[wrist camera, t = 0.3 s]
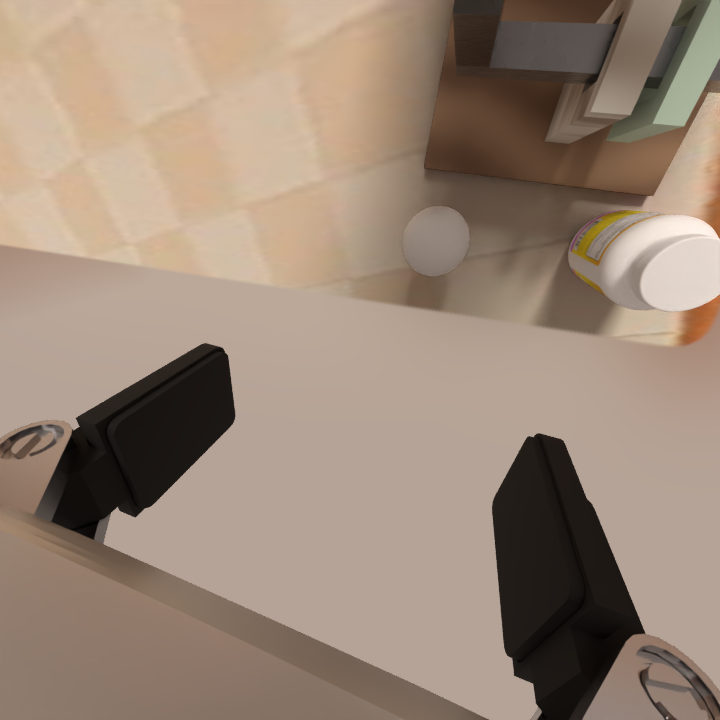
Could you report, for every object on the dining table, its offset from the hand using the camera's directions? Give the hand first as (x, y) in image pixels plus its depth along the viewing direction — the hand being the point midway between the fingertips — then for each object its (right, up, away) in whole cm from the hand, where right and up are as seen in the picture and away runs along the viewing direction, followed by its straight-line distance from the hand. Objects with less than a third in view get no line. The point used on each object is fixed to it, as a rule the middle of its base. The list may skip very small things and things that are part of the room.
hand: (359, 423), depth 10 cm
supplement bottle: (+24, +13, +21) cm, 34 cm away
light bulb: (+9, +16, +24) cm, 30 cm away
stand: (+18, +24, +16) cm, 34 cm away
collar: (+19, +20, +11) cm, 30 cm away
